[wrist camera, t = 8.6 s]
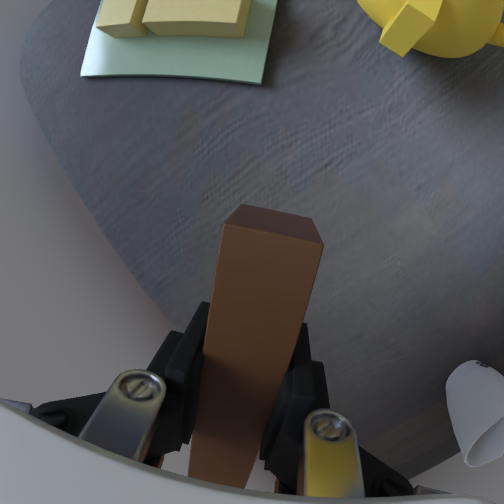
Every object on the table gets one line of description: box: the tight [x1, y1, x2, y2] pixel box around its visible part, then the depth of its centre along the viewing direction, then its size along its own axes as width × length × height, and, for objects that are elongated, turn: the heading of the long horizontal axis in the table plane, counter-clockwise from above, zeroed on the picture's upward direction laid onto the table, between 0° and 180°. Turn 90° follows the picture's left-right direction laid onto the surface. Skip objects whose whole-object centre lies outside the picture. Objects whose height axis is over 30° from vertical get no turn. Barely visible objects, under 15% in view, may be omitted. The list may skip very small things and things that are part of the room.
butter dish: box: [80, 0, 278, 86], centre depth 20 cm, size 16×11×1 cm
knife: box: [188, 204, 324, 489], centre depth 11 cm, size 21×2×3 cm, turn 169°
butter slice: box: [95, 0, 149, 38], centre depth 18 cm, size 3×4×3 cm
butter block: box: [142, 0, 251, 39], centre depth 18 cm, size 7×4×3 cm, turn 80°
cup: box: [446, 360, 504, 467], centre depth 22 cm, size 8×8×10 cm
